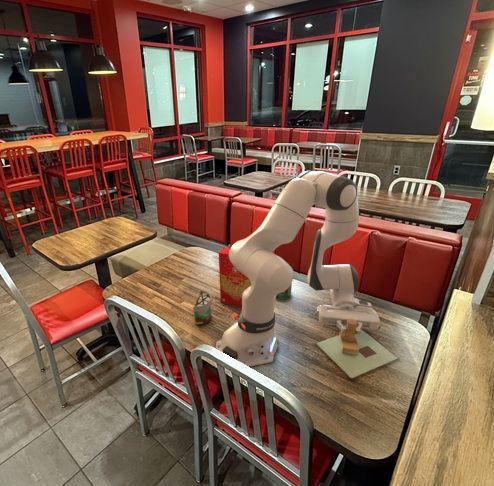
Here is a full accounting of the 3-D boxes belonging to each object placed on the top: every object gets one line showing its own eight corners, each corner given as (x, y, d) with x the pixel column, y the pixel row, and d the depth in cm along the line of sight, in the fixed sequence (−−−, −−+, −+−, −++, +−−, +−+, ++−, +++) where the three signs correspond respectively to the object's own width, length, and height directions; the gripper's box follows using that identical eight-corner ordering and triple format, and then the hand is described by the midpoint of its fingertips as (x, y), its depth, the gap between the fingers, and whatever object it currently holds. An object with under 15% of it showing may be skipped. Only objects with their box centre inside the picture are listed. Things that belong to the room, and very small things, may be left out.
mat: (351, 380, 98) (351, 378, 98) (315, 344, 112) (316, 343, 112) (397, 360, 104) (398, 358, 104) (358, 329, 119) (358, 327, 118)
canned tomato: (289, 291, 144) (291, 270, 139) (292, 301, 137) (293, 280, 132) (272, 291, 144) (273, 270, 140) (273, 301, 137) (274, 279, 133)
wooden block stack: (338, 335, 114) (342, 312, 110) (353, 336, 113) (357, 313, 108) (342, 353, 106) (346, 329, 102) (357, 355, 105) (362, 331, 101)
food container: (209, 329, 123) (208, 308, 118) (194, 327, 124) (193, 307, 120) (215, 310, 134) (214, 290, 129) (202, 308, 135) (200, 289, 130)
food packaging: (220, 302, 138) (218, 252, 128) (225, 296, 142) (223, 247, 132) (252, 309, 133) (253, 258, 122) (256, 302, 137) (256, 252, 126)
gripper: (317, 298, 119) (320, 321, 107) (375, 303, 114) (385, 328, 102) (315, 311, 122) (318, 335, 110) (372, 317, 117) (381, 342, 105)
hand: (351, 332), depth 106 cm, fingers closed on wooden block stack, 3 cm apart
